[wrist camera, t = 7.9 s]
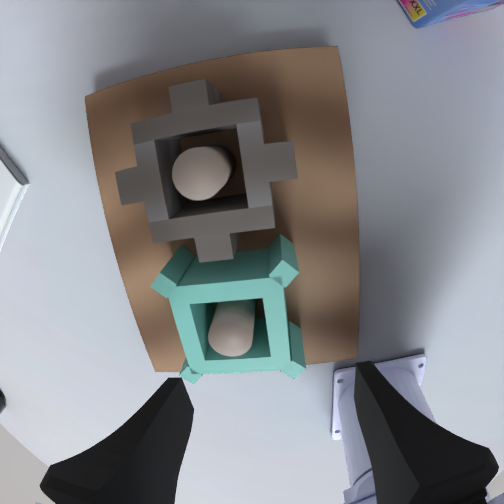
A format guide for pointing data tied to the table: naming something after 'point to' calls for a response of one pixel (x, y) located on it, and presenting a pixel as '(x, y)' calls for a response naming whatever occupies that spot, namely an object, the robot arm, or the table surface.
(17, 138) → the table surface
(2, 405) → the supplement container
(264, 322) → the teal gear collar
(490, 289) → the table surface
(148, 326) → the gear board
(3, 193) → the hard drive
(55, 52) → the table surface
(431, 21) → the ink cartridge box
